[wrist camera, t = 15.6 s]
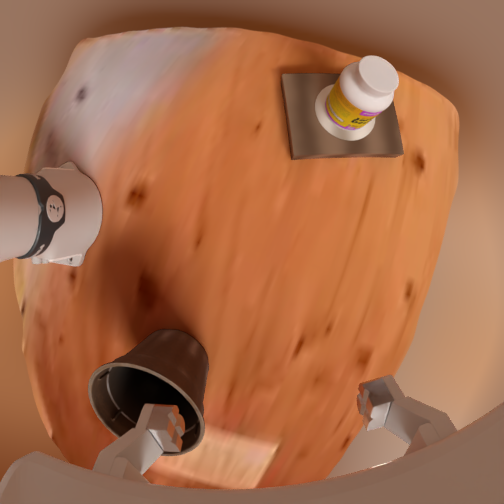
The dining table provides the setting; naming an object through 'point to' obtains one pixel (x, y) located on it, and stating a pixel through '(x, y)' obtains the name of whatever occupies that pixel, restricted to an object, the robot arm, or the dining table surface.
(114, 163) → the dining table surface
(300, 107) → the walnut board
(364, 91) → the supplement bottle
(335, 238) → the dining table surface
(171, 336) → the plant pot
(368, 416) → the robot arm
